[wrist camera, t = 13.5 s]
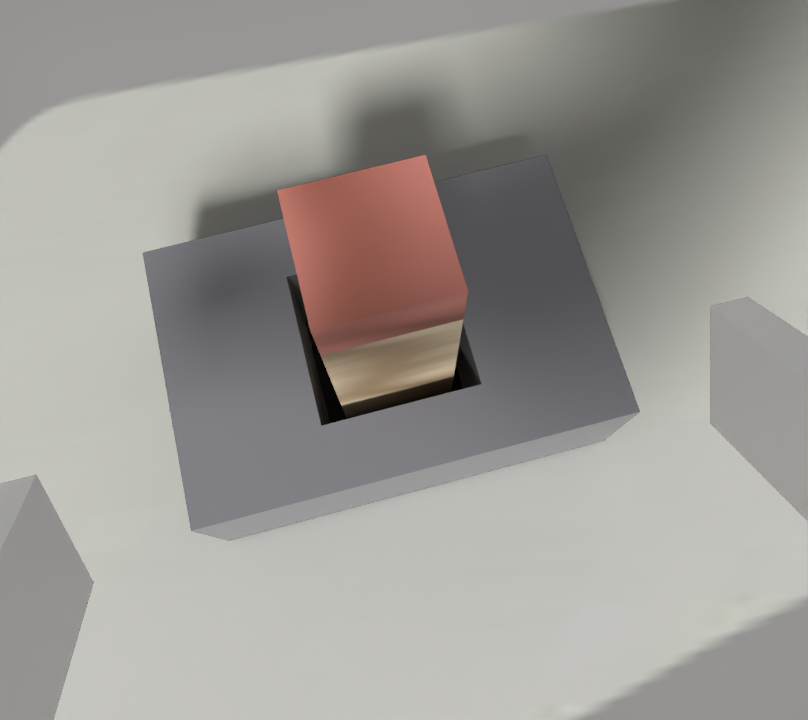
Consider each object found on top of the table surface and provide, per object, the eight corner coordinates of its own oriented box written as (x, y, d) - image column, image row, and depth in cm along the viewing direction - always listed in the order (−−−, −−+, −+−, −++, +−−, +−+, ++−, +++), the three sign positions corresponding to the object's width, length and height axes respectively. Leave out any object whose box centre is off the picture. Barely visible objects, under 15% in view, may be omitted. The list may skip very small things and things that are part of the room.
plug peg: (422, 314, 31) (425, 154, 20) (449, 405, 30) (467, 291, 19) (328, 338, 31) (276, 190, 20) (351, 430, 30) (310, 331, 18)
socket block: (527, 219, 32) (546, 154, 28) (603, 440, 29) (639, 411, 25) (184, 303, 32) (142, 252, 27) (229, 540, 29) (191, 530, 24)
